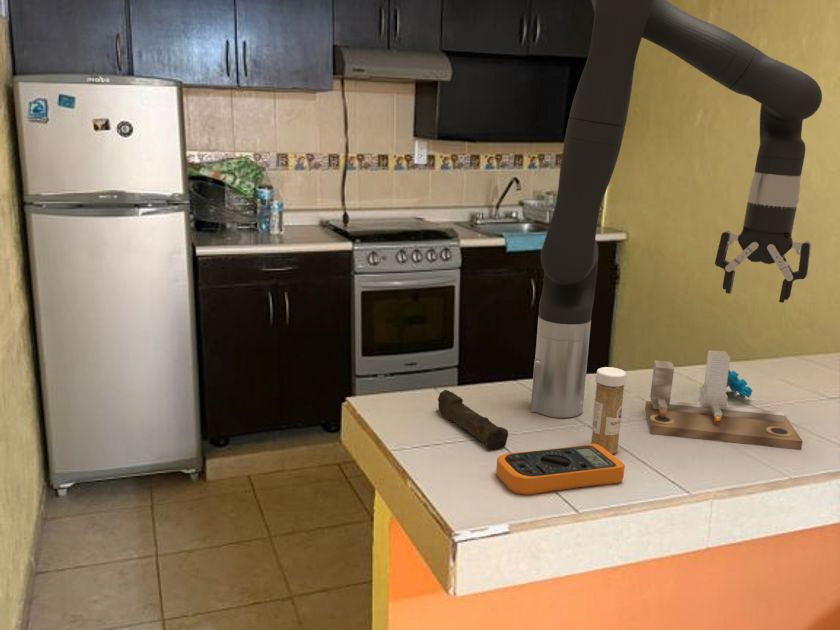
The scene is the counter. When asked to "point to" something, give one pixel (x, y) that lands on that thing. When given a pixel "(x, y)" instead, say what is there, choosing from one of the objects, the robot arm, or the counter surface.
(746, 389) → the blue branching piece
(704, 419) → the plate
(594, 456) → the multimeter
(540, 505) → the counter surface
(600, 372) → the sprinkles bottle
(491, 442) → the dark brown rod
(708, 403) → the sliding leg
